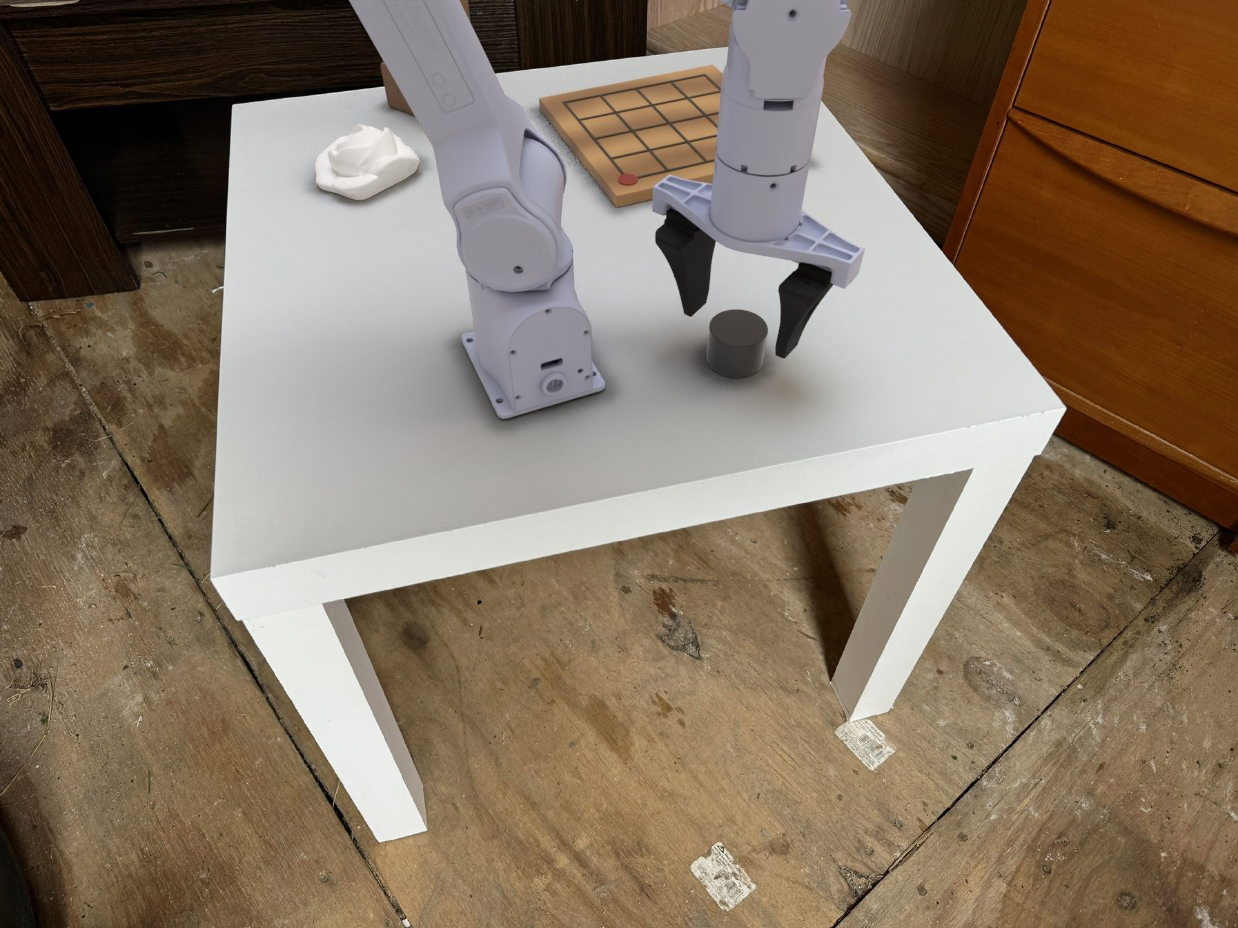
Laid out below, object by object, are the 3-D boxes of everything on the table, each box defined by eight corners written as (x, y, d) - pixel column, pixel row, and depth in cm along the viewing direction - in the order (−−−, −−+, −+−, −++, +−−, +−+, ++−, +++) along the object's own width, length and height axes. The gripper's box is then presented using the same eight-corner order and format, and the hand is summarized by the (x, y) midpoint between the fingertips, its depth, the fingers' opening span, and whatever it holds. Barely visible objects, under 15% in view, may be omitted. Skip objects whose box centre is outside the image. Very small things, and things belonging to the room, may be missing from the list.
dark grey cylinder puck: (773, 369, 64) (779, 337, 62) (722, 384, 63) (726, 353, 61) (745, 335, 67) (750, 303, 65) (696, 349, 66) (699, 317, 64)
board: (808, 163, 84) (811, 150, 83) (616, 208, 79) (616, 194, 78) (711, 75, 96) (712, 63, 95) (539, 109, 91) (538, 97, 90)
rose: (406, 158, 75) (291, 159, 75) (414, 204, 79) (305, 205, 79) (420, 103, 82) (315, 103, 82) (428, 147, 85) (327, 148, 85)
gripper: (903, 161, 52) (857, 338, 62) (698, 93, 58) (686, 265, 68) (849, 214, 48) (809, 394, 59) (635, 136, 54) (632, 312, 64)
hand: (739, 328), depth 63 cm, fingers open, 7 cm apart
